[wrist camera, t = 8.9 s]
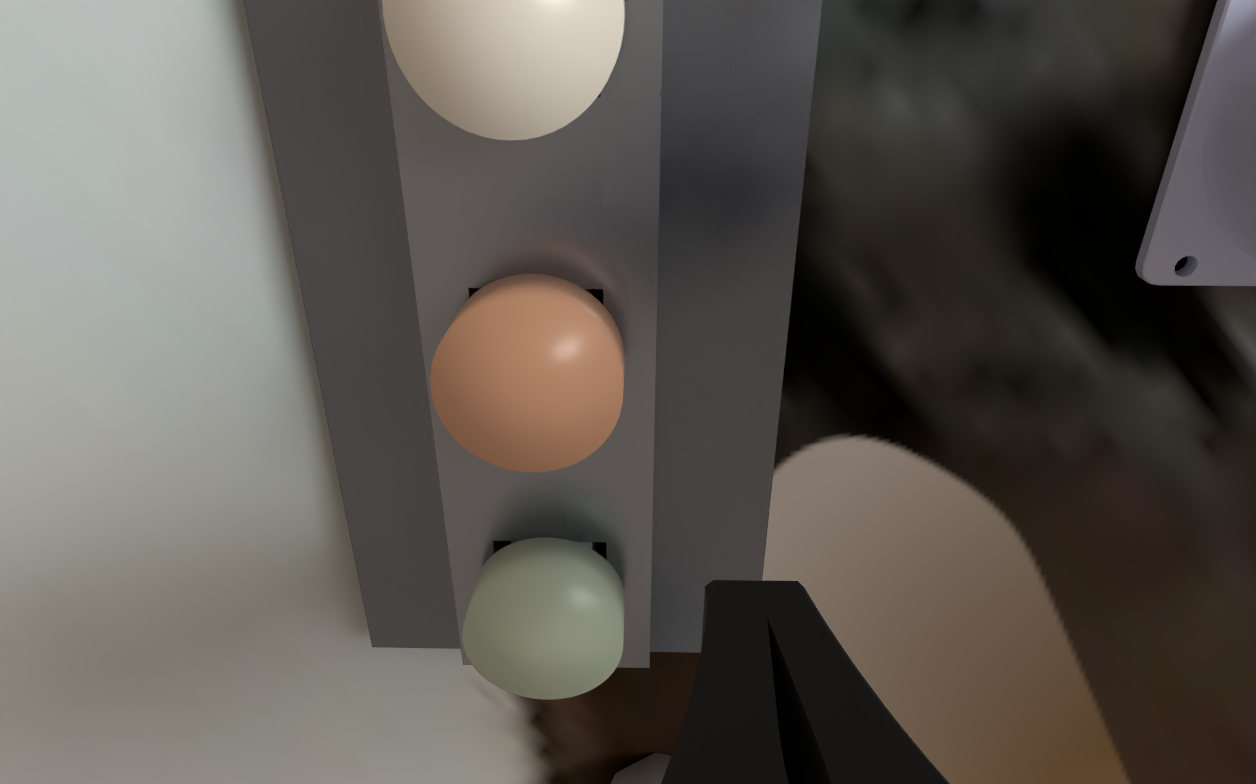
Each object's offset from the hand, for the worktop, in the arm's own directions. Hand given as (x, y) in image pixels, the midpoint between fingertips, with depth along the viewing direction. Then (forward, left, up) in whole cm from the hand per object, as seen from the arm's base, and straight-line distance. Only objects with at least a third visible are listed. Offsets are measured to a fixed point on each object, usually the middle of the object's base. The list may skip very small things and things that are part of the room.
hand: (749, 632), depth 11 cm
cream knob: (+4, -8, -10) cm, 13 cm away
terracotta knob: (+4, -1, -10) cm, 11 cm away
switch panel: (+4, -1, -10) cm, 11 cm away
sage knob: (+4, +6, -10) cm, 12 cm away
